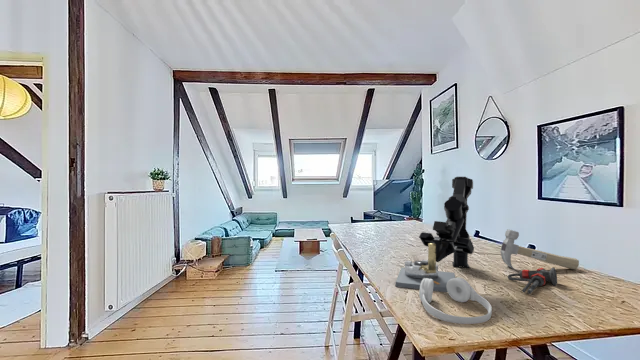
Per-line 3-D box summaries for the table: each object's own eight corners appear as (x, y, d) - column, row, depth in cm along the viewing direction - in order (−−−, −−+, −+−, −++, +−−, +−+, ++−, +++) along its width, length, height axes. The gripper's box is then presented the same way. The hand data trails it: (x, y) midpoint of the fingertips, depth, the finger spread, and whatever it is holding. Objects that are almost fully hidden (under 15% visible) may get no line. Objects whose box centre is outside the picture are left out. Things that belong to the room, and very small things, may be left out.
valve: (516, 278, 132) (561, 280, 121) (496, 297, 113) (547, 302, 103) (513, 262, 132) (558, 263, 122) (493, 279, 113) (544, 282, 103)
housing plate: (401, 271, 133) (401, 266, 133) (454, 276, 126) (454, 272, 126) (395, 286, 114) (395, 281, 114) (457, 293, 107) (457, 288, 107)
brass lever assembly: (399, 270, 127) (399, 237, 127) (427, 269, 129) (428, 236, 129) (417, 283, 112) (418, 245, 112) (449, 281, 114) (449, 244, 114)
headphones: (410, 274, 103) (437, 308, 83) (466, 273, 104) (505, 307, 85) (409, 294, 104) (435, 334, 85) (464, 293, 106) (502, 332, 86)
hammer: (575, 245, 139) (505, 228, 142) (583, 247, 134) (510, 230, 137) (566, 280, 139) (496, 263, 142) (574, 284, 135) (501, 266, 137)
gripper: (421, 211, 125) (404, 243, 118) (470, 215, 111) (454, 251, 103) (432, 229, 130) (417, 261, 123) (480, 235, 116) (465, 272, 109)
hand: (436, 261), depth 114 cm, fingers closed
